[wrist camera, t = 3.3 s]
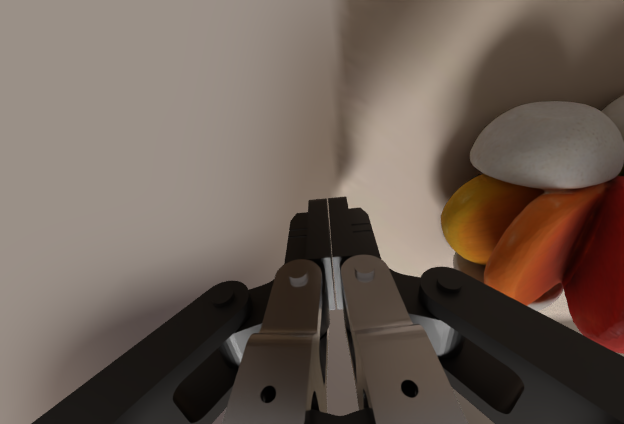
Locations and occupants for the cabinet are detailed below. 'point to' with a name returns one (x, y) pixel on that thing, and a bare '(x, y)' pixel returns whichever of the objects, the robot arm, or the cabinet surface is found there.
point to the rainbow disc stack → (548, 212)
